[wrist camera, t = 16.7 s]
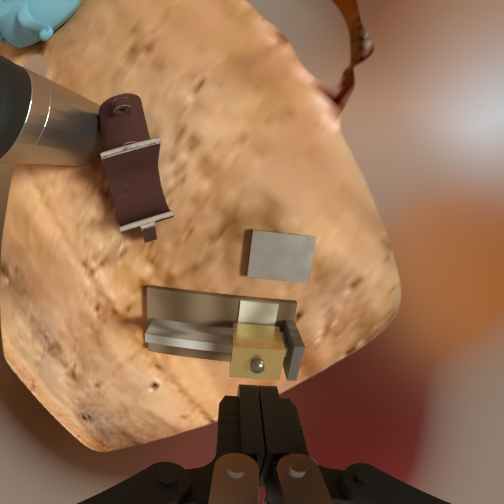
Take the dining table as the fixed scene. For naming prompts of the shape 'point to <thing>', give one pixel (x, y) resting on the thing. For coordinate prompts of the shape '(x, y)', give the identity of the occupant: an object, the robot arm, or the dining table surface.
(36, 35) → the decorative pot
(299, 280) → the gray metal plate
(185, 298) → the rail
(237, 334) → the block with knob
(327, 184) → the dining table surface
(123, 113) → the bracket
